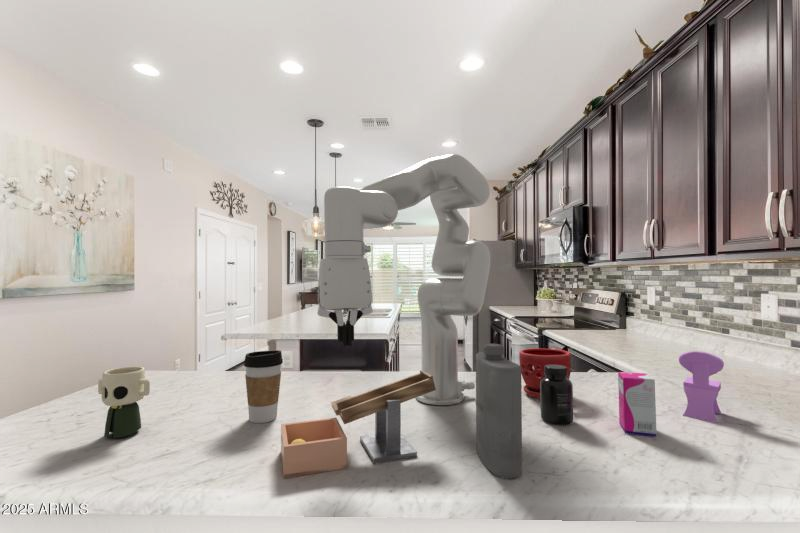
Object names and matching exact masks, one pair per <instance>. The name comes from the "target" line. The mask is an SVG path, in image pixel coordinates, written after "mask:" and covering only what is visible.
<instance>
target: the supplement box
mask: <svg viewBox="0 0 800 533" xmlns="http://www.w3.org/2000/svg"><path fill="white" fill-rule="evenodd" d="M617 374H618V375H617V376H618V378H617V380H618V382H617V385H618V417H619V418H618V420H619V421H618V422H619V425H620V427H621V428H622V430H623V432H624V434H626V433H629V434H628V435H636V434H637V436H645V437H646V436H647V437H655V438H656V437H657V408H656V406H657V405H656V379H655V378H653V377H652V376H651V375H649V374H648V373H644V372H642V373H640V372H625V371H618V373H617Z"/></svg>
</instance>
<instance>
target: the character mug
mask: <svg viewBox="0 0 800 533" xmlns="http://www.w3.org/2000/svg"><path fill="white" fill-rule="evenodd" d="M145 371H146V370H145V367H143V366H138V365H137V366H122V367H115V368H112V369H107V370H105V371H103V373H102V378H100V379H98V382H97V392H98V394H99V395H101V398H100V399H101V401H102V403H103V404H104V405H105V406H107V407H109V408H108V410H107V415H106V421H105V426H104V434H103V435H104V437H105V438H109V437H110V433H111V434H113V435H112V437H113V438H122V437H126V436H130V435H132V434H134V433H136V432H138V431H139V430H140V429H142V419H141V418H142V417H141V412H140V411H141V410H140V405H139V404H138V402H139V401H140V400H142V399H143V398H144V396H149V395H150V393H151V392H150V390H151V382H150V379H147V378H145V375H146V372H145Z"/></svg>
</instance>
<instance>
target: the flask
mask: <svg viewBox="0 0 800 533" xmlns="http://www.w3.org/2000/svg"><path fill="white" fill-rule="evenodd" d="M504 350H505V348H504V346H503V345H502V344H500V343H486V344H484V345H483V351H482V350H481V351H478V352H477V353H476V354H475V430H476V431H475V442H476V443H475V446H476V448H475V450H476V452H477V455H478V457H479V459H480V460H481V462H482V464H483V465H484V466H485V467H486V468H487V469H488V470H489V472H490V473H492V474H493V475H495V476H496V477H499V478H503V479H509V480H511V479H517V478H519V477H521V476H522V474H523V433H522V432H523V428H522V426H523V424H522V423H523V421H522V420H523V416H522V414H523V413H522V412H523V409H522V408H523V407H522V404H523V403H522V374H521V367H520V364H519V363H515V362H513V361H511V360H509V359H507V358H506V357H505V356H504V355H505V353H504V352H505V351H504Z"/></svg>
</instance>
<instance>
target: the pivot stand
mask: <svg viewBox="0 0 800 533" xmlns="http://www.w3.org/2000/svg"><path fill="white" fill-rule="evenodd" d="M401 404H402V403H401V400H400V399H391V400H386V409H384V410H381V411H379V412H376V413H374V415H375V417H374V420H375V422H374V423H375V425H374V426H375V427H374V434H366V435H361V436H359V437H360V438H359V441H360V443H361V444H362V446H363V448H364V449H365V451H366V453H367V455H368V456H369V458H370V460H371V461H372V463H373V464H378V463H384V462H390V461H392V462H393V461H397V460H404V459H410V458H416V457H418V451H416V449H415V448H414V447H413V446H412V444H411V443H410V442H409V441H408V440H407V439H406V438H405V437H404V436H403V434H402V433H401V425H402V424H401V418H402V417H401V411H402V410H401V409H402V408H401Z"/></svg>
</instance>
